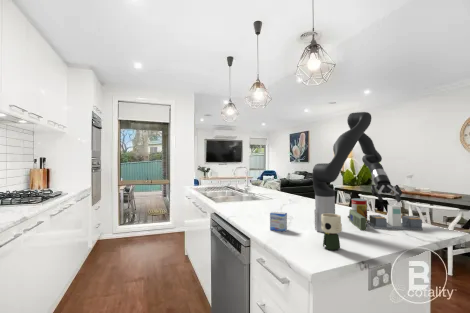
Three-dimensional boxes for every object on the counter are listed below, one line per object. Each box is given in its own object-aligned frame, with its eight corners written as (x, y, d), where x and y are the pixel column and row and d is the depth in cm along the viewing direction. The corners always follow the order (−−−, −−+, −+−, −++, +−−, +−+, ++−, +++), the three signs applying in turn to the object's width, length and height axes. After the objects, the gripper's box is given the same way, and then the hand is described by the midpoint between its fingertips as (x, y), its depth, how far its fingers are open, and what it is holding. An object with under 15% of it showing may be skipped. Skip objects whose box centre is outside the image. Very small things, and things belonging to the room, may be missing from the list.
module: (392, 226, 118) (392, 206, 119) (387, 223, 123) (387, 204, 124) (401, 226, 118) (401, 206, 118) (396, 223, 123) (395, 204, 123)
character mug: (315, 244, 96) (314, 213, 96) (329, 242, 98) (328, 211, 98) (333, 254, 85) (333, 219, 86) (349, 252, 87) (348, 217, 88)
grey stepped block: (374, 228, 118) (374, 218, 118) (367, 223, 127) (367, 214, 127) (422, 230, 114) (422, 219, 115) (412, 225, 123) (411, 215, 124)
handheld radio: (359, 230, 115) (345, 218, 140) (366, 231, 115) (351, 219, 139) (359, 217, 116) (345, 207, 140) (367, 217, 115) (351, 208, 139)
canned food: (370, 221, 133) (370, 200, 133) (358, 222, 131) (358, 200, 131) (360, 218, 140) (359, 198, 141) (349, 219, 138) (348, 198, 139)
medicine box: (269, 230, 117) (269, 213, 117) (271, 228, 121) (271, 211, 121) (285, 232, 114) (285, 214, 114) (287, 229, 118) (286, 212, 118)
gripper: (369, 174, 135) (378, 196, 123) (396, 174, 133) (408, 197, 121) (365, 182, 140) (374, 205, 129) (391, 182, 138) (402, 205, 126)
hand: (390, 201), depth 125 cm, fingers open, 8 cm apart
